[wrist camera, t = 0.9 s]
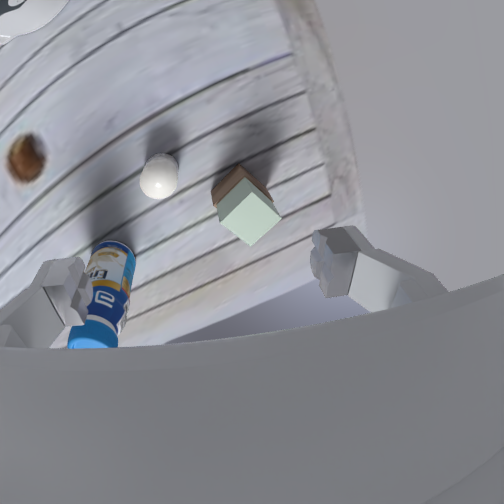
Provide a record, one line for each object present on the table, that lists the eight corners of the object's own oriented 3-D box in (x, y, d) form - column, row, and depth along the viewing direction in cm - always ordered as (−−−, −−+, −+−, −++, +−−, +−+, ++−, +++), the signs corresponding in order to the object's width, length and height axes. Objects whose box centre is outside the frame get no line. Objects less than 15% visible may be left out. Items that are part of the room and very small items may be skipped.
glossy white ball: (138, 171, 40) (132, 184, 36) (159, 146, 38) (155, 156, 34) (164, 191, 42) (161, 205, 38) (185, 166, 41) (185, 179, 37)
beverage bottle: (115, 284, 50) (98, 377, 34) (82, 255, 45) (49, 347, 29) (146, 262, 49) (136, 358, 33) (113, 229, 44) (83, 322, 28)
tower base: (210, 191, 44) (213, 205, 40) (238, 163, 42) (244, 174, 38) (238, 213, 47) (243, 229, 43) (265, 187, 45) (273, 201, 41)
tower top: (216, 205, 40) (219, 223, 36) (244, 176, 38) (252, 191, 34) (244, 227, 43) (250, 246, 39) (271, 201, 41) (281, 218, 37)
